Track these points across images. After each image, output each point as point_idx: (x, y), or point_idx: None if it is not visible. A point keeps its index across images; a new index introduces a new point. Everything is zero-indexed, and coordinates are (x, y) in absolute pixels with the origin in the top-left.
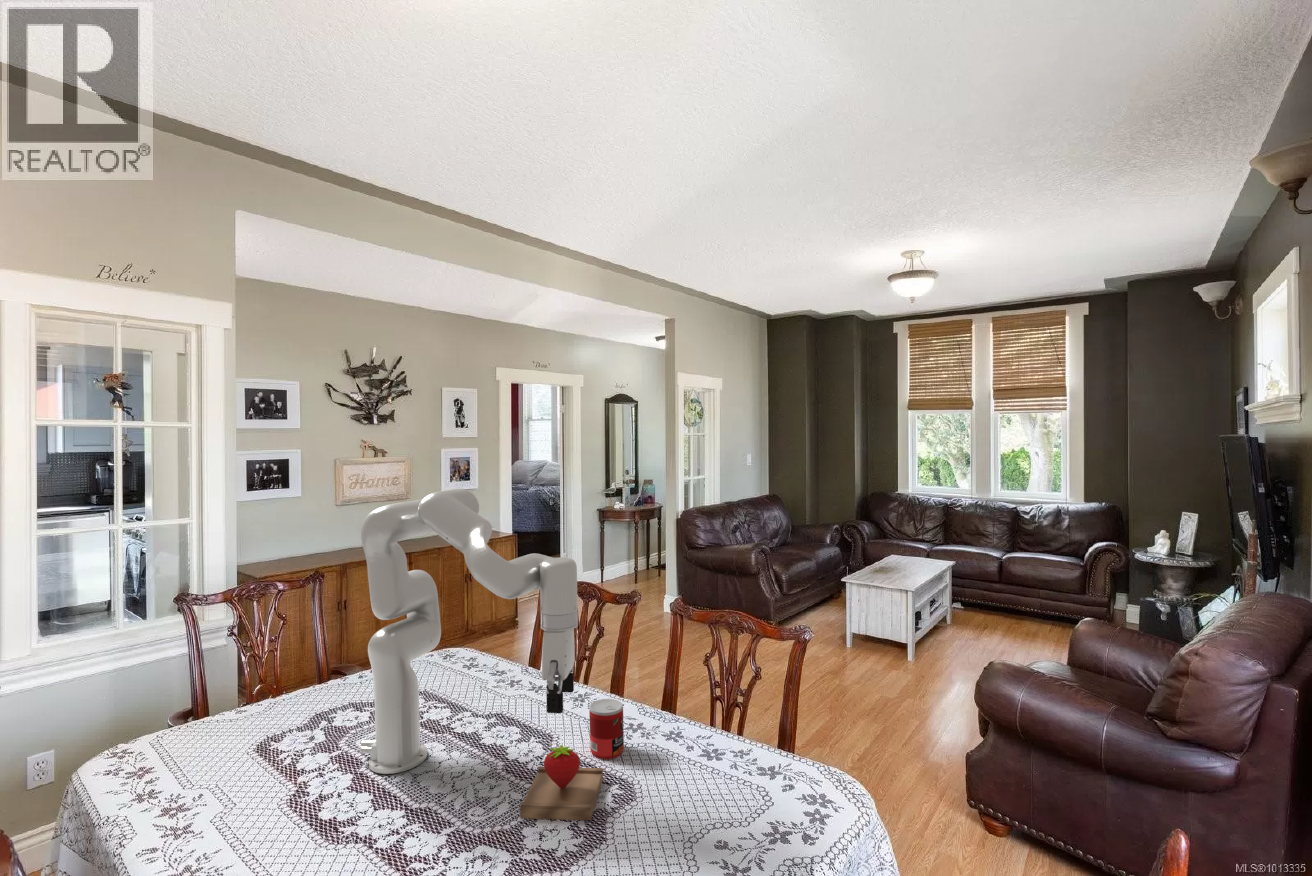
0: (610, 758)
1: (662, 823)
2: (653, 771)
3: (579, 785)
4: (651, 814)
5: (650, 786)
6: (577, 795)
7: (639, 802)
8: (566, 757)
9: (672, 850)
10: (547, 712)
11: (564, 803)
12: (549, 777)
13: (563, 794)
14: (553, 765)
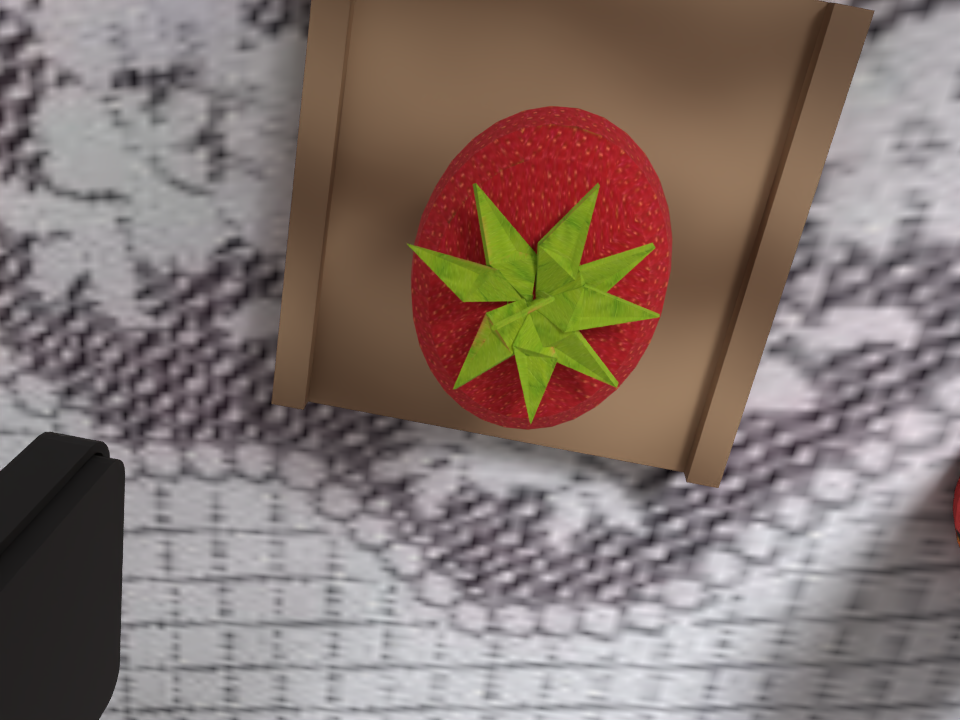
0: (953, 506)
1: (255, 689)
2: (732, 708)
3: None
4: (330, 654)
5: (583, 678)
6: None
7: (440, 614)
8: (465, 344)
9: None
10: (51, 435)
11: (321, 242)
12: (718, 108)
13: None
14: (427, 215)
